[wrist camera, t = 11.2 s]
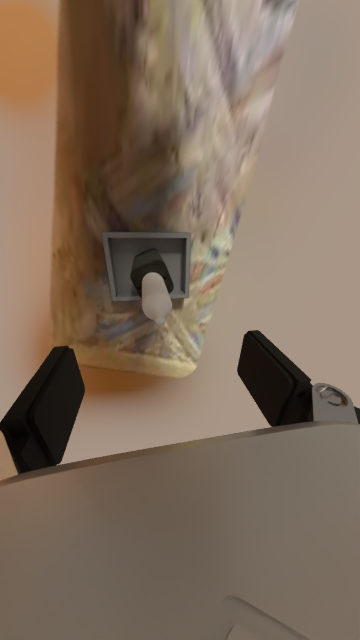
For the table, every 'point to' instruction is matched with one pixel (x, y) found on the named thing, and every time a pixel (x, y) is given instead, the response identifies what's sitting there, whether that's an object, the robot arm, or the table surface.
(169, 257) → the tray
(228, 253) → the table surface
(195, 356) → the table surface
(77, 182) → the table surface
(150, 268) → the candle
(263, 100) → the table surface
